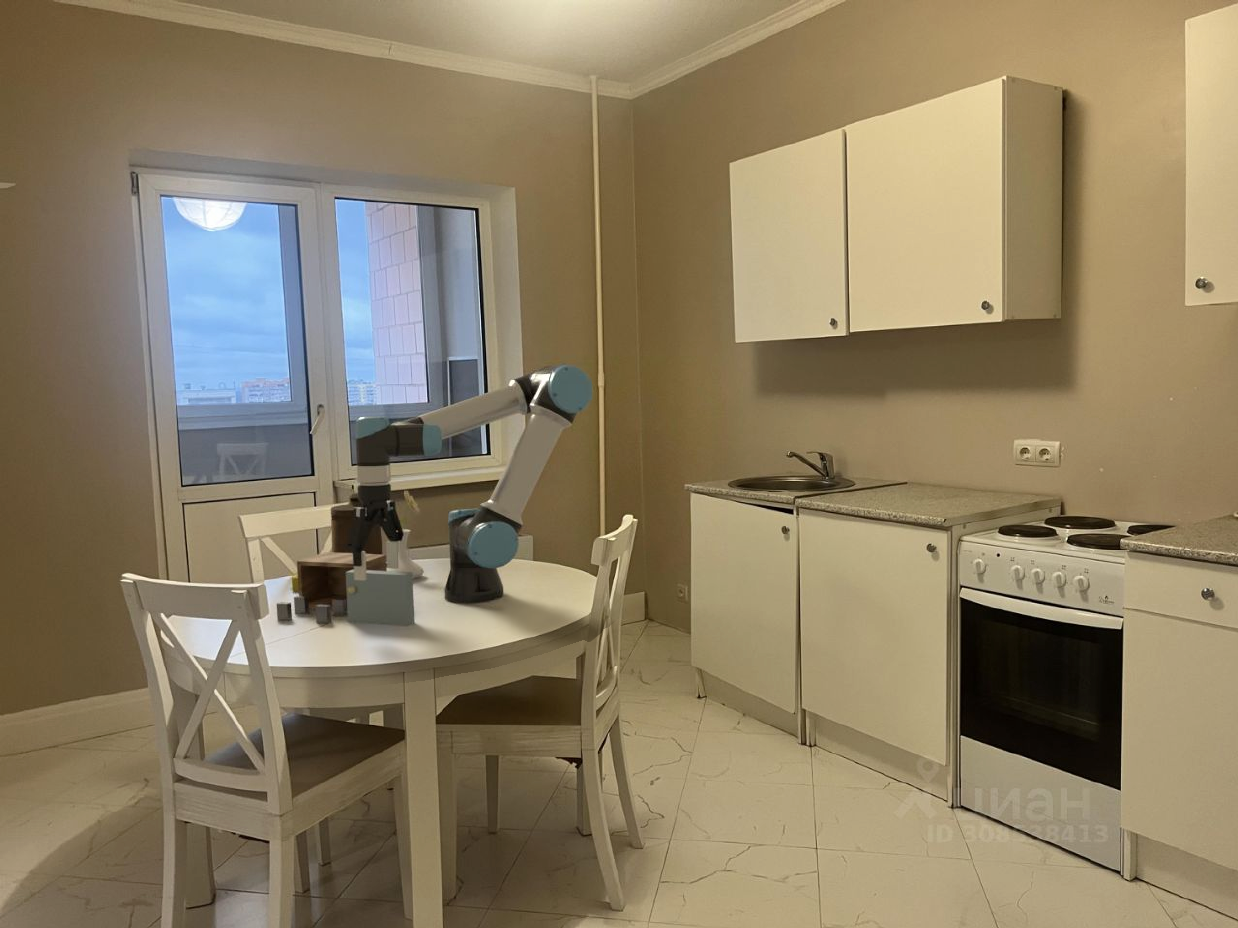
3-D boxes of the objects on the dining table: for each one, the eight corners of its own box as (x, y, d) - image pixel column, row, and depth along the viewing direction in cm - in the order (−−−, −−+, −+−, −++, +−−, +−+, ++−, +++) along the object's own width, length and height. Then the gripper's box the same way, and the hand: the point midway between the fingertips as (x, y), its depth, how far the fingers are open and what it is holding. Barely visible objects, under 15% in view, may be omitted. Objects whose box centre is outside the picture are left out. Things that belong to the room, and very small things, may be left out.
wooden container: (370, 558, 299) (366, 489, 297) (391, 564, 288) (387, 493, 285) (325, 564, 290) (321, 494, 287) (345, 572, 278) (341, 498, 276)
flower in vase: (411, 584, 260) (407, 494, 257) (375, 582, 263) (370, 493, 261) (434, 574, 272) (430, 488, 270) (399, 572, 275) (395, 488, 273)
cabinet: (388, 600, 241) (385, 554, 240) (361, 612, 229) (358, 564, 228) (328, 596, 246) (326, 552, 245) (299, 608, 235) (296, 561, 234)
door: (414, 622, 219) (412, 572, 217) (405, 627, 215) (402, 576, 213) (355, 618, 224) (352, 569, 222) (345, 623, 220) (342, 573, 218)
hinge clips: (347, 614, 227) (346, 598, 227) (327, 623, 220) (326, 606, 219) (298, 611, 232) (297, 595, 231) (277, 619, 224) (276, 603, 224)
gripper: (389, 477, 229) (392, 562, 231) (327, 489, 206) (331, 584, 208) (416, 478, 227) (418, 564, 229) (356, 490, 203) (360, 586, 205)
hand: (377, 574), depth 218 cm, fingers open, 13 cm apart
